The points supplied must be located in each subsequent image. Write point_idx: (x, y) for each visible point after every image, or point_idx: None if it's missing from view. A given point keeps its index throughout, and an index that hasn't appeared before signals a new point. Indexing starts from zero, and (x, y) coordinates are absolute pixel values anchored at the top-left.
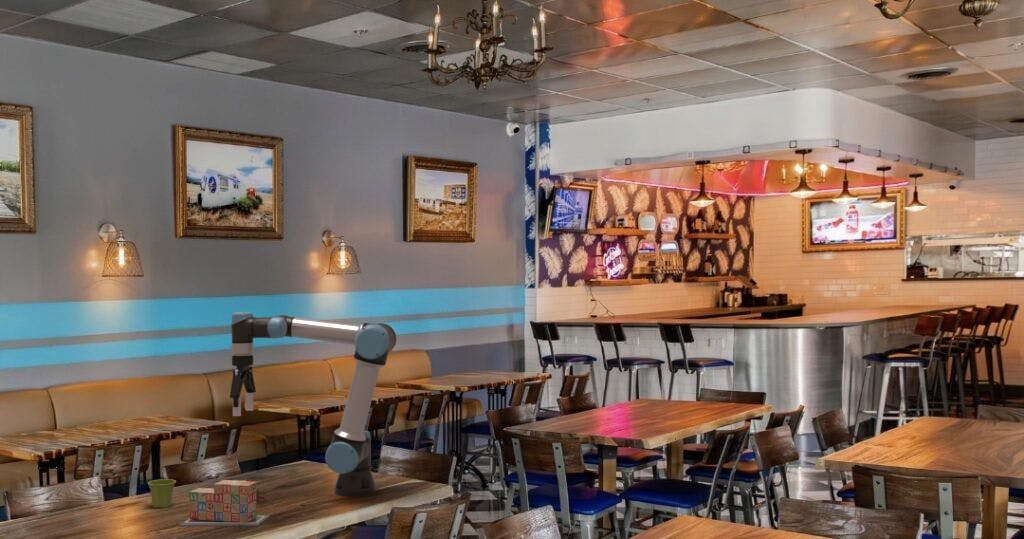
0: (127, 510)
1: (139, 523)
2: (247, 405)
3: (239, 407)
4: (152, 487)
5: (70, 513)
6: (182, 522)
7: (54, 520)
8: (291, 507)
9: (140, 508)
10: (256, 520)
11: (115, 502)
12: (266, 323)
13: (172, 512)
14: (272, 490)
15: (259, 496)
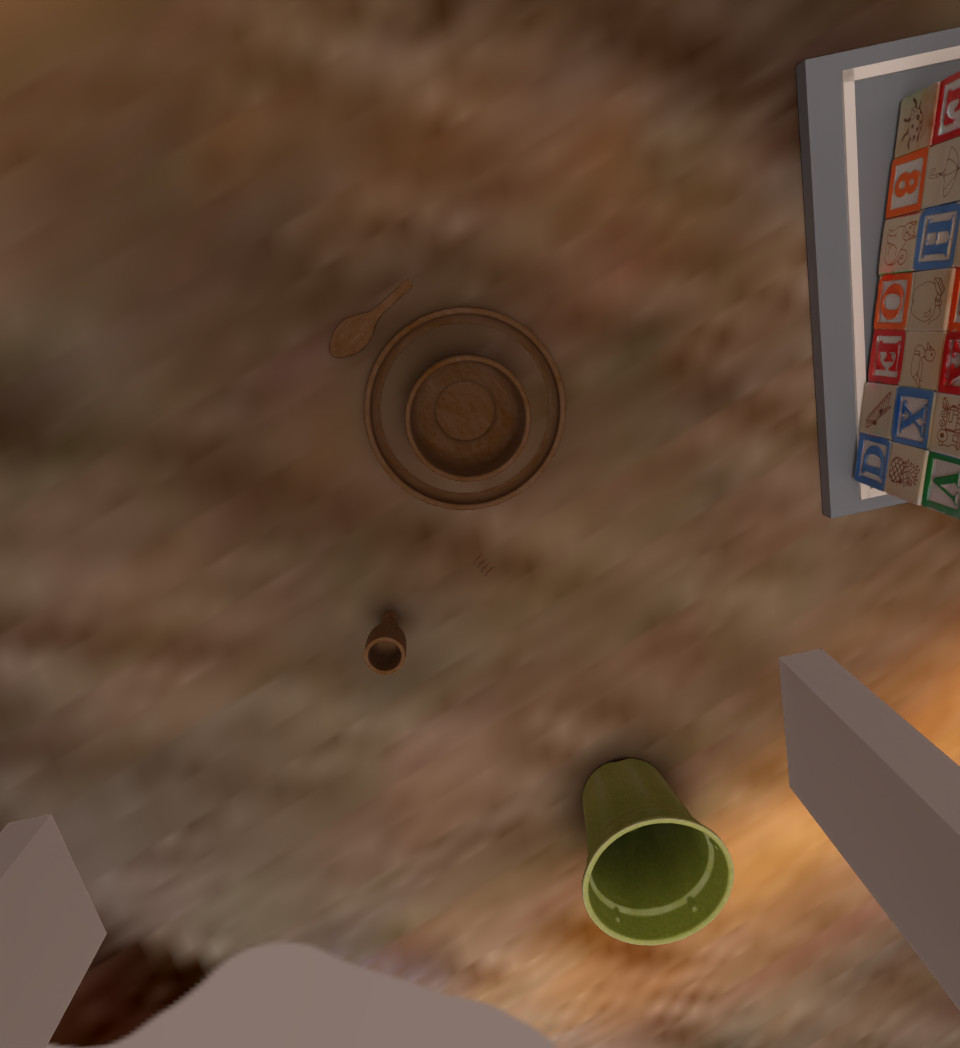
0: None
1: (936, 696)
2: (33, 1001)
3: (949, 770)
4: (715, 879)
5: (792, 1037)
6: None
7: (901, 1019)
8: (520, 60)
9: None
10: (935, 80)
11: (591, 1005)
12: None
13: (730, 677)
14: (135, 435)
15: (371, 392)
